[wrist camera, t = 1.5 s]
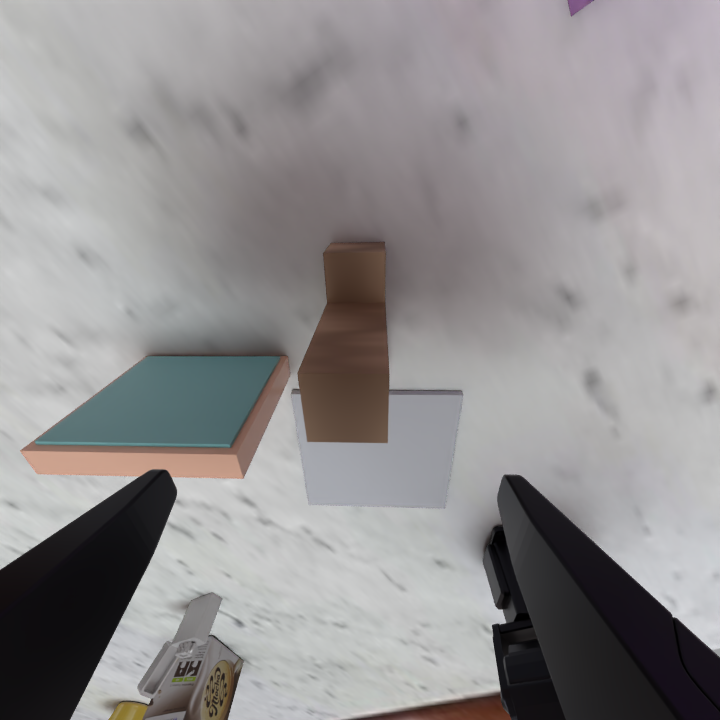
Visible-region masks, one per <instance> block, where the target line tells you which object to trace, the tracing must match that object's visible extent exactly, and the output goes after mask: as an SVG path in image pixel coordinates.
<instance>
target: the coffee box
mask: <svg viewBox="0 0 720 720" xmlns="http://www.w3.org/2000/svg"><path fill="white" fill-rule="evenodd" d="M243 662H244V661H243V660H242V659H240V658H239V657H238V656H237V655H235V654H234V653H233V652H231V651H230V650H229V649H228V648H227V647H225V646H224V645H223V644H222V643H220V642H219V641H218V640H217V639H215V638H214V637H213V636H210V637H208V639H207V641H206V644H203V645H200V646H197V647H196V648H195V650H194V653H193V655H192V656H190V657H187V658H183V659H182V658H178V659H177V661H176V663H175V664H174V666H173V668H172V669H171V671H170V672H169V674H168V676H167V677H166V679H165V681H164V682H163V684H162V686H161V687H160V689H159V690H158V692H157V694H156V695H155V697H154V698H152V699H151V701H150V703H149V705H148V708H147V710H146V712H145V715H144V717H143V719H142V720H228V716H229V713H230V709H231V705H232V702H233V698H234V694H235V691H236V687H237V683H238V680H239V676H240V673H241V669H242V665H243Z"/></svg>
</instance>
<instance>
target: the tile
mask: <svg viewBox="0 0 720 720" xmlns="http://www.w3.org/2000/svg"><path fill="white" fill-rule="evenodd" d="M289 377H290V369H289V362H288V356H146V357H145V358H143V359H142V360H141V361H139V362H138V363H137V364H135V365H134V366H133V367H131V368H130V369H129V370H127V371H126V372H125V373H123V374H122V375H121V376H119V377H118V378H117V379H115V380H114V381H113V382H111V383H110V384H109V385H107V386H106V387H105V388H103V389H102V390H101V391H99V392H98V393H97V394H95V395H94V396H93V397H91V398H90V399H89V400H87V401H86V402H85V403H83V404H82V405H81V406H79V407H78V408H77V409H75V410H74V411H73V412H71V413H70V414H69V415H67V416H66V417H64V418H63V419H62V420H60V421H59V422H58V423H56V424H55V425H54V426H52V427H51V428H50V429H48V430H47V431H46V432H44V433H43V434H42V435H40V436H39V437H38V438H36V439H35V440H34V441H32V442H31V443H30V444H28V445H27V446H26V447H24V448H23V449H22V450H20V452H21V453H22V454H23V456H24V457H25V458H26V460H27V461H28V462H29V464H30V465H31V466H32V468H33V469H34V471H35V472H36V473H37V474H55V475H100V476H141V475H143V474H144V473H146V472H147V471H149V470H152V469H165V470H167V471H168V472H169V473H170V475H171V477H191V478H237V479H243V478H244V476H245V474H246V472H247V470H248V467H249V465H250V463H251V461H252V459H253V456H254V454H255V452H256V450H257V448H258V445H259V443H260V441H261V439H262V437H263V434H264V432H265V430H266V428H267V426H268V423H269V421H270V419H271V417H272V415H273V412H274V410H275V408H276V406H277V404H278V401H279V399H280V397H281V395H282V393H283V390H284V388H285V386H286V384H287V382H288V379H289Z"/></svg>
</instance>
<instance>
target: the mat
mask: <svg viewBox="0 0 720 720" xmlns="http://www.w3.org/2000/svg"><path fill="white" fill-rule="evenodd" d="M291 398H292V404H293V410H294V416H295V423H296V429H297V435H298V441H299V448H300V454H301V460H302V466H303V473H304V479H305V485H306V491H307V497H308V504H309V505H336V506H373V507H411V508H445V506H446V499H447V493H448V487H449V481H450V475H451V468H452V462H453V456H454V450H455V444H456V437H457V431H458V425H459V419H460V412H461V406H462V400H463V393H462V391H389V413H388V443H339V442H307V437H306V430H305V423H304V416H303V409H302V402H301V395H300V390H292V393H291Z"/></svg>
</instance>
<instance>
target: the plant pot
mask: <svg viewBox="0 0 720 720" xmlns="http://www.w3.org/2000/svg"><path fill="white" fill-rule="evenodd" d="M147 708H148V705H145V704H141V703H137V702H121V703H119V704H118V706H117V707H116V709H115V711H114V712H113V714H112V715H111V717H110V718H109V720H142V719H143V717H144V715H145V712H146V710H147Z"/></svg>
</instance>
